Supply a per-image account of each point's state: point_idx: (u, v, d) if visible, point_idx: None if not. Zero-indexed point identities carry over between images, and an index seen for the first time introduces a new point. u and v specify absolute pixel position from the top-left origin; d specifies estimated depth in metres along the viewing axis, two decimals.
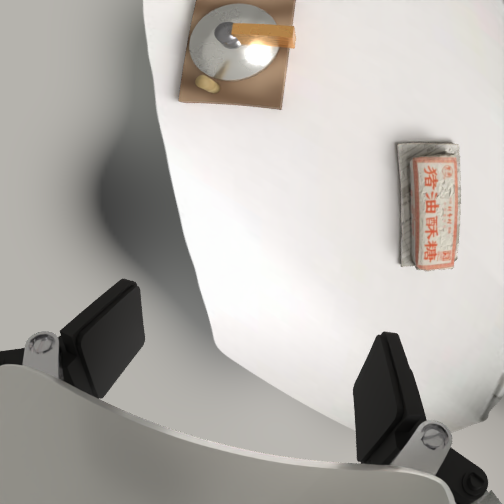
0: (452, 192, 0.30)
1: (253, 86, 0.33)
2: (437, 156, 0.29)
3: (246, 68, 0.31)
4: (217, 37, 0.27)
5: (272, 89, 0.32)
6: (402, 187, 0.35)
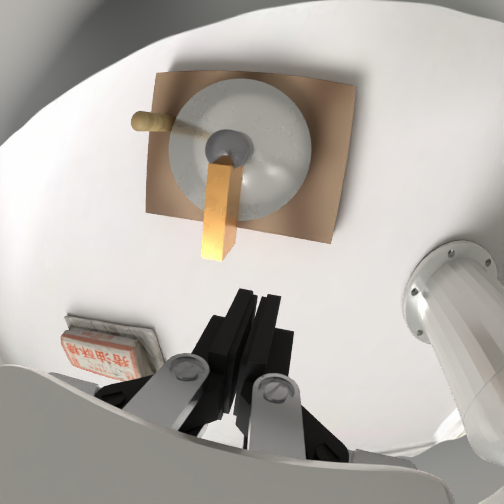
0: (116, 376, 0.35)
1: (169, 177, 0.26)
2: (139, 371, 0.34)
3: (184, 172, 0.24)
4: (214, 135, 0.19)
5: (166, 202, 0.27)
6: (116, 327, 0.36)
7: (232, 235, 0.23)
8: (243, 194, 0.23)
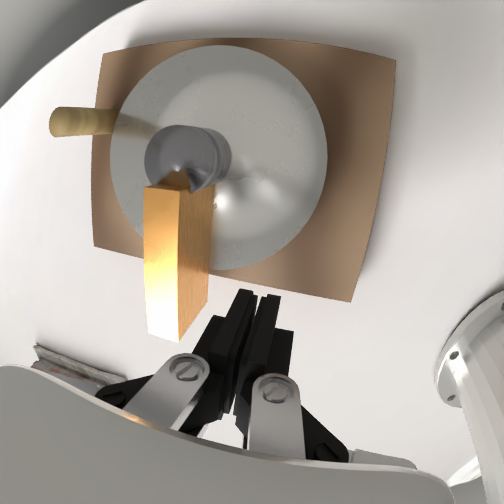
0: None
1: None
2: None
3: (131, 195, 0.15)
4: (158, 136, 0.11)
5: (117, 235, 0.18)
6: (84, 369, 0.28)
7: (199, 294, 0.15)
8: (216, 230, 0.15)
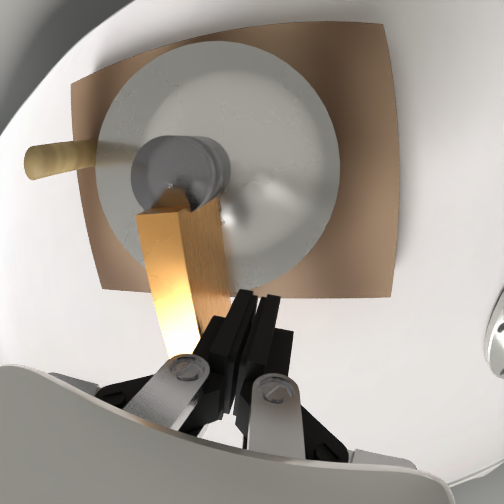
0: None
1: None
2: None
3: (128, 226, 0.14)
4: (141, 154, 0.09)
5: (123, 272, 0.17)
6: None
7: None
8: (229, 249, 0.13)
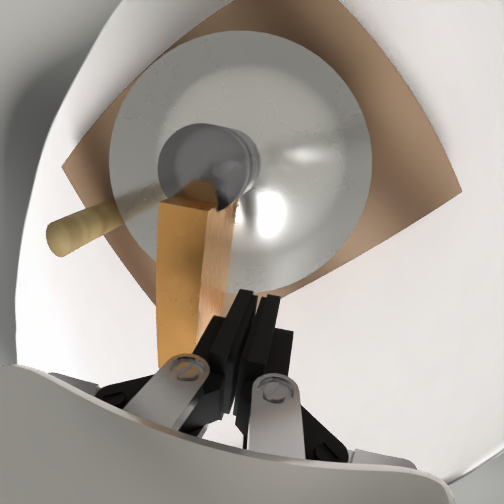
0: None
1: None
2: None
3: (133, 202, 0.13)
4: (177, 136, 0.09)
5: None
6: None
7: None
8: (236, 250, 0.13)
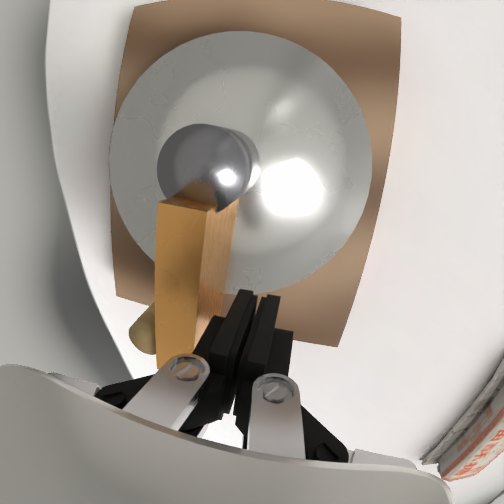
0: None
1: (281, 297, 0.15)
2: None
3: (133, 202, 0.13)
4: (177, 137, 0.08)
5: (326, 308, 0.15)
6: (482, 399, 0.17)
7: None
8: (235, 251, 0.13)
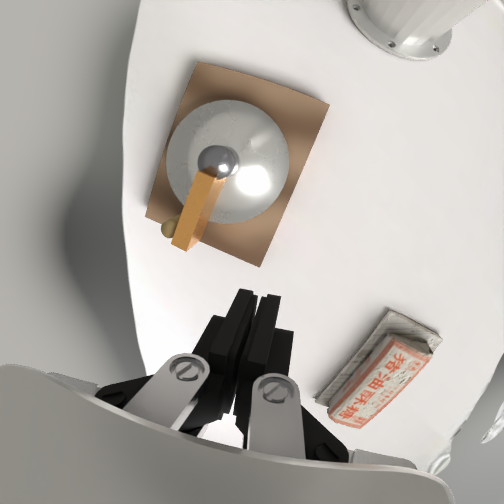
0: (404, 382, 0.30)
1: (235, 231, 0.30)
2: (415, 350, 0.28)
3: (176, 168, 0.27)
4: (209, 148, 0.23)
5: (256, 242, 0.30)
6: (363, 349, 0.33)
7: (200, 232, 0.27)
8: (219, 200, 0.27)
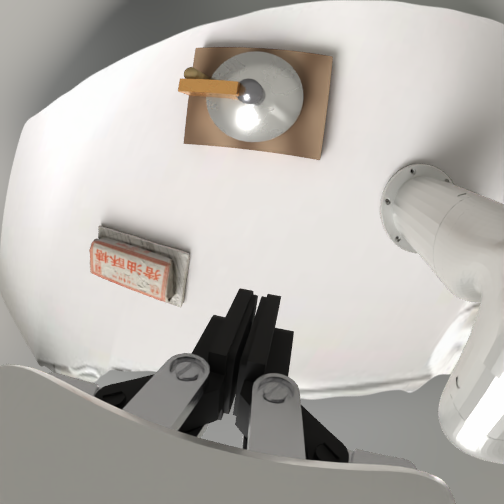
0: (139, 288, 0.44)
1: (204, 117, 0.35)
2: (167, 285, 0.43)
3: (239, 61, 0.30)
4: (257, 84, 0.28)
5: (201, 135, 0.35)
6: (154, 244, 0.44)
7: (195, 94, 0.31)
8: (222, 99, 0.32)
